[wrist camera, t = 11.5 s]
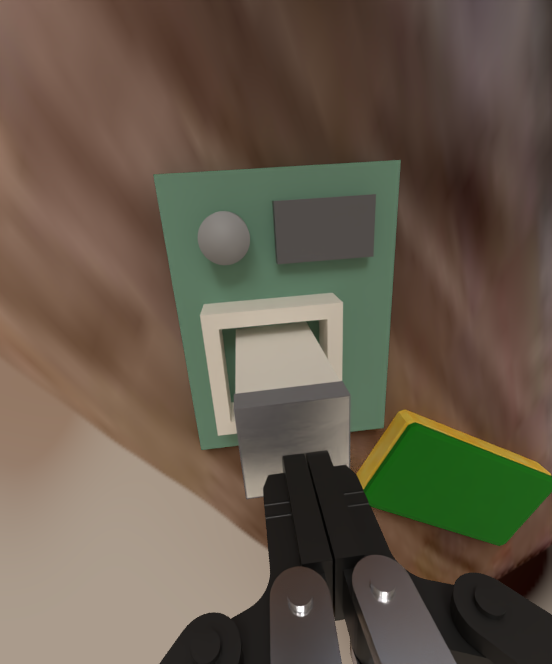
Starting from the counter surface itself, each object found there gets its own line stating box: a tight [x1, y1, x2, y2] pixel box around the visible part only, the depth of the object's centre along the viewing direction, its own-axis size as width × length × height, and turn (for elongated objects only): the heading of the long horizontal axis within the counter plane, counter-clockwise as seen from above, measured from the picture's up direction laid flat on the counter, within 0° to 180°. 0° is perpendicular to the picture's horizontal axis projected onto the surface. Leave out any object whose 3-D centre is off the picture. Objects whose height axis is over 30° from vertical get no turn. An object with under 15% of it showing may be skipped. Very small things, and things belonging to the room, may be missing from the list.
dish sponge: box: [356, 410, 552, 546], centre depth 26 cm, size 7×14×2 cm, turn 64°
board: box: [153, 160, 401, 450], centre depth 19 cm, size 16×12×3 cm
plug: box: [234, 322, 351, 499], centre depth 16 cm, size 4×4×8 cm
